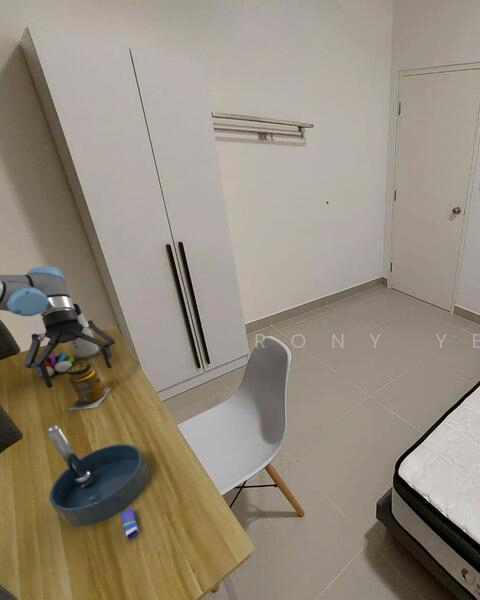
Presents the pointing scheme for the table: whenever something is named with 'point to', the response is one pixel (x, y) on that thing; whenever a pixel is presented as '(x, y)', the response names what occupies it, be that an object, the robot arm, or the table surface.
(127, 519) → the eraser
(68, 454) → the silver-tipped handle
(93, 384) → the condiment
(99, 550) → the table surface
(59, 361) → the rainbow petal flower
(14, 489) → the table surface
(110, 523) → the table surface
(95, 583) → the table surface
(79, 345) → the travel mug
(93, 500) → the bowl
